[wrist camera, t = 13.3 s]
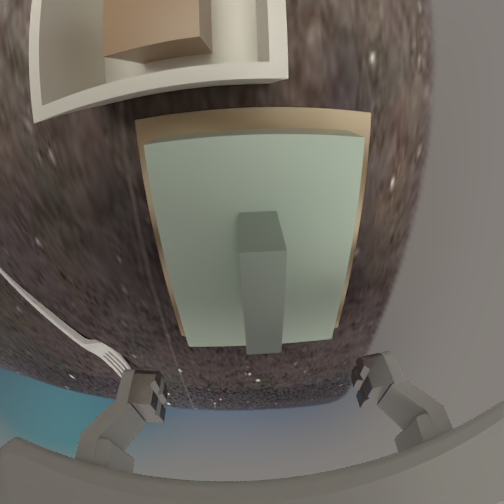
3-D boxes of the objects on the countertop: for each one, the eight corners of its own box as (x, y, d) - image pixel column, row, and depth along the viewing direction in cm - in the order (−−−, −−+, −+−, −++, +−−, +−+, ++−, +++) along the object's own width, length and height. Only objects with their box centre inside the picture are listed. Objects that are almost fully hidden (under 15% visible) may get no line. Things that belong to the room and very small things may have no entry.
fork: (0, 250, 20) (-10, 260, 18) (141, 363, 28) (138, 377, 26) (-4, 268, 21) (-13, 277, 19) (128, 372, 29) (124, 385, 27)
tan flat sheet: (336, 324, 24) (337, 327, 24) (182, 332, 24) (181, 335, 24) (368, 112, 15) (371, 112, 14) (136, 119, 14) (134, 120, 14)
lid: (325, 318, 23) (342, 379, 18) (192, 325, 23) (183, 388, 18) (349, 130, 15) (402, 156, 10) (155, 137, 15) (111, 166, 9)
